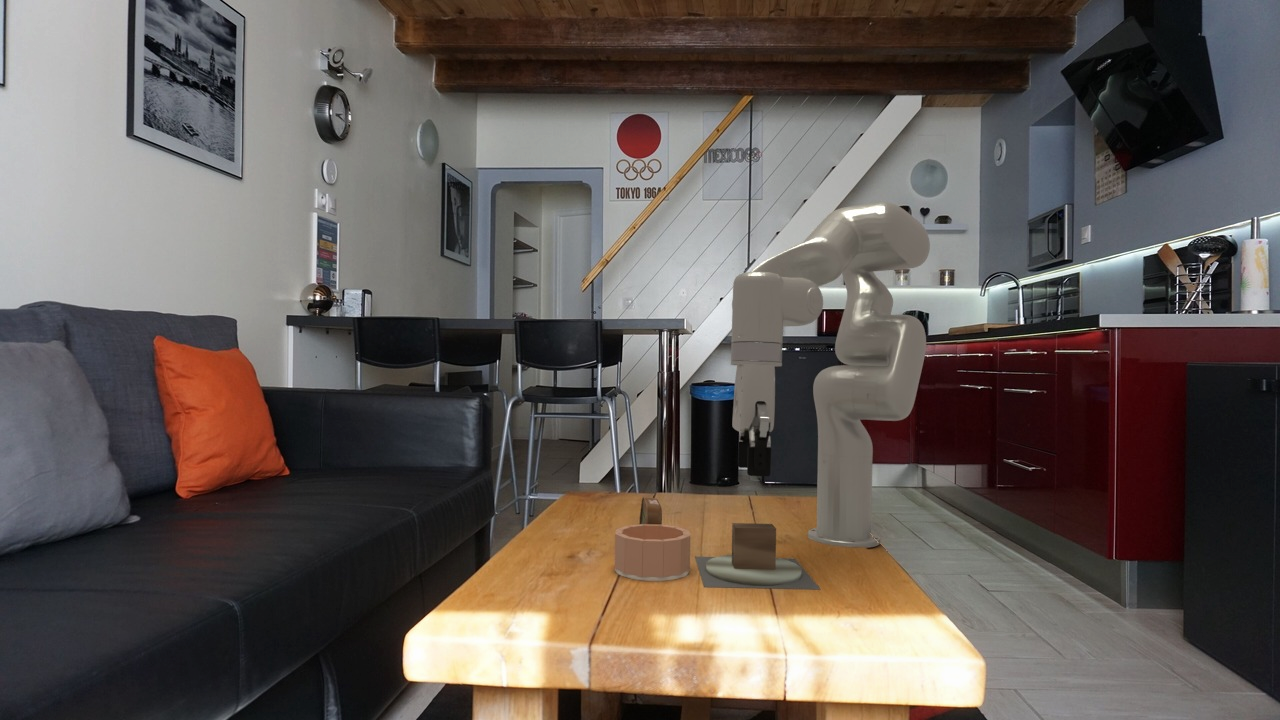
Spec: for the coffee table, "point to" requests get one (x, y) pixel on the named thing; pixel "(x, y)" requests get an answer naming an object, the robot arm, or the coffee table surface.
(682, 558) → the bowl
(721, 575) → the lid
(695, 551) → the coffee table surface
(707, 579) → the mat
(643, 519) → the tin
